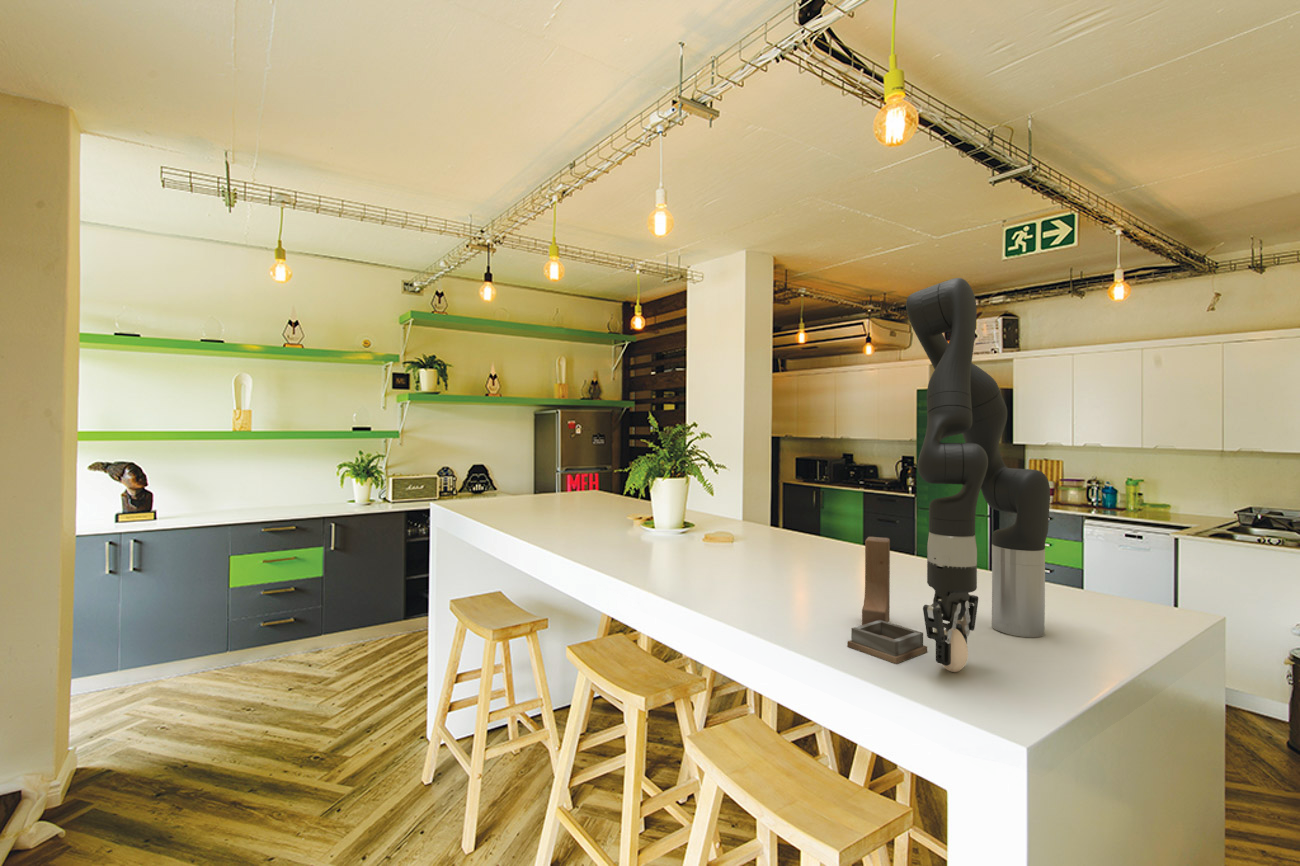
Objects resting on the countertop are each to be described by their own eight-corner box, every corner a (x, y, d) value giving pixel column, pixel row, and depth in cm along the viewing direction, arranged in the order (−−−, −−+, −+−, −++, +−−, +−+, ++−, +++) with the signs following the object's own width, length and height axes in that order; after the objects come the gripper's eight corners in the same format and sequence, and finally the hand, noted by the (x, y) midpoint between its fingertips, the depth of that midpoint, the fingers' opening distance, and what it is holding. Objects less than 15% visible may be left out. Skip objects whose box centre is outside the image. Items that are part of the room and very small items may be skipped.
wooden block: (885, 634, 117) (885, 544, 117) (861, 630, 119) (862, 542, 119) (889, 621, 125) (890, 537, 125) (867, 618, 127) (867, 536, 127)
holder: (878, 636, 116) (878, 618, 116) (927, 651, 108) (927, 632, 108) (847, 646, 110) (847, 628, 110) (896, 663, 102) (896, 643, 102)
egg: (971, 671, 99) (971, 627, 99) (963, 679, 96) (963, 634, 96) (942, 663, 102) (942, 621, 102) (933, 671, 99) (933, 627, 99)
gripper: (951, 551, 106) (951, 645, 106) (907, 561, 98) (906, 662, 98) (995, 559, 100) (994, 658, 100) (951, 569, 92) (951, 678, 92)
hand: (951, 659), depth 99 cm, fingers closed on egg, 4 cm apart
